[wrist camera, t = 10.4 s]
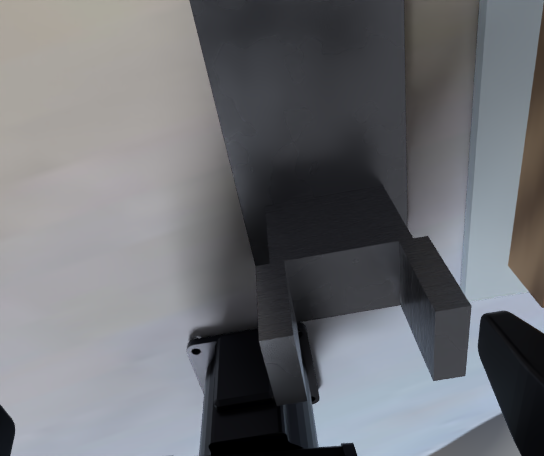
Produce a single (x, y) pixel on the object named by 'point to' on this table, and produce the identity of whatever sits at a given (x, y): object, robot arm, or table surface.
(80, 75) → the table surface
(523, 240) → the walnut bar
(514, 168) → the blue-grey mat
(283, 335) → the dark grey u-shaped stand
